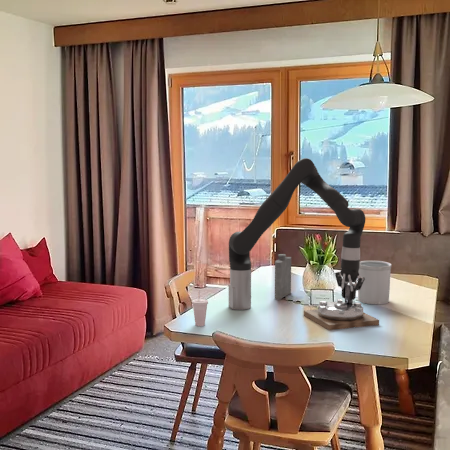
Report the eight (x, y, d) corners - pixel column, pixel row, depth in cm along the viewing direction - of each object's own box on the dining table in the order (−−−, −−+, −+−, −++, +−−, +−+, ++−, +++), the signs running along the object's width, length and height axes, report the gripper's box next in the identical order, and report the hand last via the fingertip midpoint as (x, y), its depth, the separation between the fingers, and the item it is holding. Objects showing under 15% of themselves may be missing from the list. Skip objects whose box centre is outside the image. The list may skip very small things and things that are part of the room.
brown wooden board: (329, 330, 221) (329, 324, 220) (303, 315, 241) (303, 310, 241) (379, 324, 227) (379, 319, 227) (350, 310, 248) (350, 305, 248)
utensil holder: (388, 306, 256) (389, 267, 254) (354, 303, 261) (355, 265, 259) (391, 298, 269) (393, 261, 267) (359, 295, 275) (360, 259, 273)
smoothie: (199, 321, 232) (199, 287, 230) (211, 324, 228) (211, 289, 226) (188, 325, 227) (188, 290, 225) (200, 328, 223) (200, 292, 221)
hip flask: (280, 300, 267) (280, 257, 265) (271, 299, 269) (272, 256, 266) (291, 292, 281) (292, 252, 279) (283, 291, 283) (284, 251, 281)
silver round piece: (309, 314, 233) (309, 289, 232) (331, 306, 247) (331, 281, 245) (351, 323, 221) (351, 296, 220) (371, 313, 235) (372, 287, 234)
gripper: (370, 259, 234) (368, 300, 236) (342, 254, 244) (340, 293, 246) (359, 261, 229) (356, 303, 231) (331, 255, 239) (329, 296, 242)
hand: (348, 298), depth 239 cm, fingers closed on silver round piece, 3 cm apart
